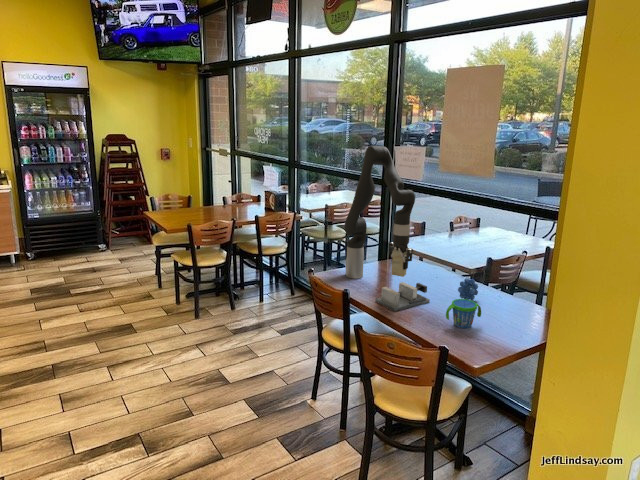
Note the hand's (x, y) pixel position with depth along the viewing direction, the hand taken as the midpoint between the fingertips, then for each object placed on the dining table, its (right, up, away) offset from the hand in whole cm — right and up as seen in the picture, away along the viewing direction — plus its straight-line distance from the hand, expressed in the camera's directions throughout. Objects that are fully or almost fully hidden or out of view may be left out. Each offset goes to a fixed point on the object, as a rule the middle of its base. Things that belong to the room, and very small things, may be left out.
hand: (399, 266), depth 226 cm
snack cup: (+24, -24, -18) cm, 39 cm away
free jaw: (+9, -15, +10) cm, 20 cm away
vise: (+3, -17, +6) cm, 19 cm away
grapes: (+35, -18, +8) cm, 40 cm away
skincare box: (0, -4, +1) cm, 4 cm away
